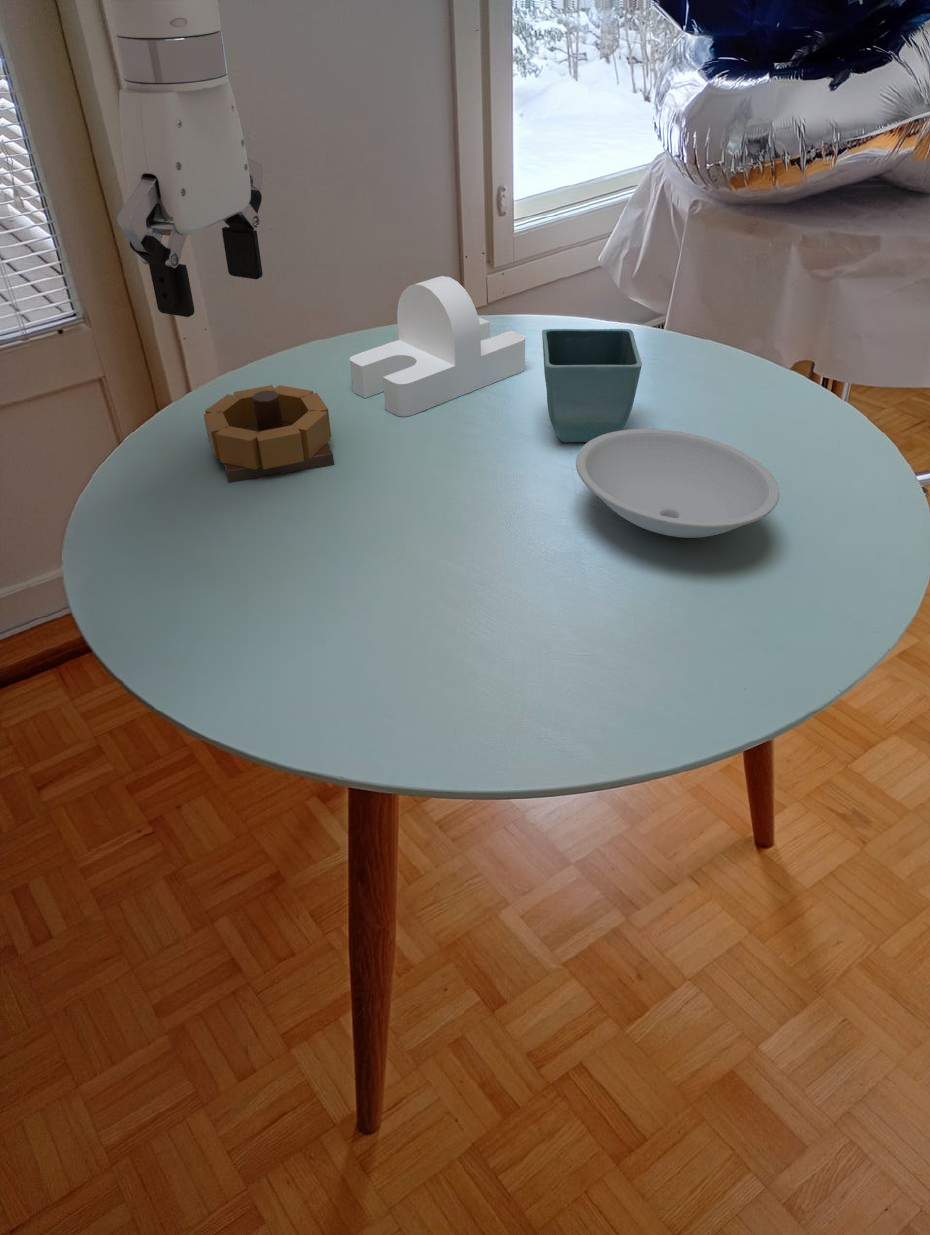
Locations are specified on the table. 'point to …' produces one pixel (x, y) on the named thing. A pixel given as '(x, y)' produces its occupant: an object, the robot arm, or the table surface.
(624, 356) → the flower pot
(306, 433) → the segmented block ring
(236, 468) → the peg stand
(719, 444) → the dish
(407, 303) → the white slotted bracket
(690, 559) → the table surface
